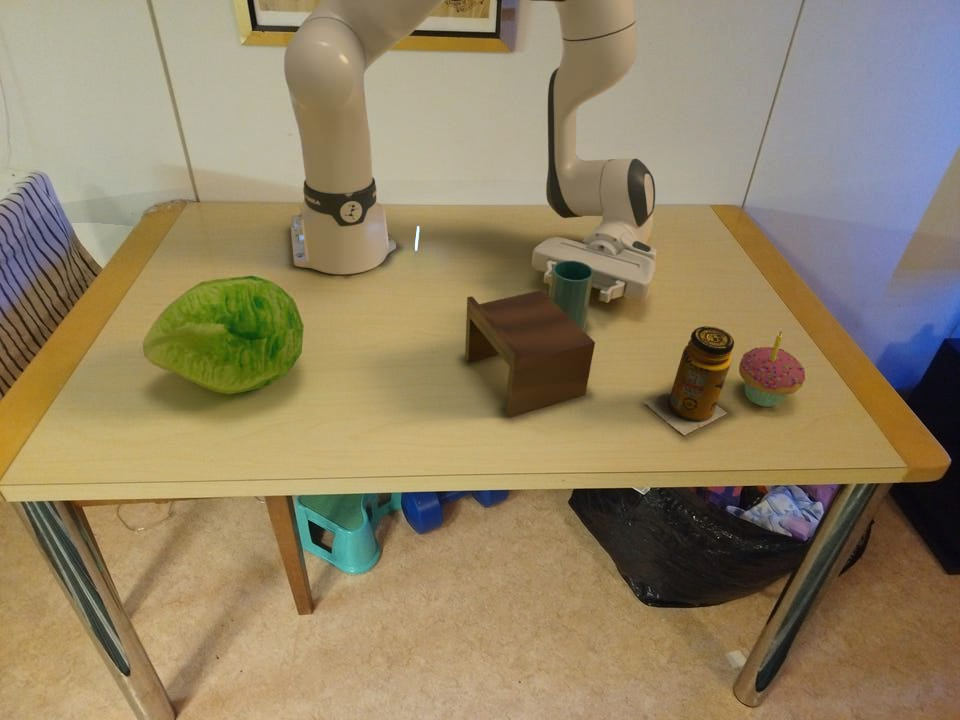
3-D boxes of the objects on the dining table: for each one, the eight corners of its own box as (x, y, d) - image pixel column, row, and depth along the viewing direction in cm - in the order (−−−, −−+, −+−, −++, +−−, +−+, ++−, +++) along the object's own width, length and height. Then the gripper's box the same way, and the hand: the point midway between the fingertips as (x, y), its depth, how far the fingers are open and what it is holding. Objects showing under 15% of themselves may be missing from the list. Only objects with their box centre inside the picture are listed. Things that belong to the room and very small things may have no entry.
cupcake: (773, 424, 88) (804, 353, 81) (718, 392, 93) (742, 322, 86) (804, 398, 93) (836, 328, 85) (750, 369, 97) (776, 300, 90)
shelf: (464, 358, 97) (467, 297, 90) (535, 339, 101) (542, 280, 95) (509, 417, 87) (515, 353, 80) (585, 394, 91) (597, 332, 85)
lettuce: (184, 361, 97) (150, 266, 89) (321, 345, 98) (300, 250, 90) (148, 429, 83) (103, 324, 75) (309, 410, 84) (282, 304, 76)
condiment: (727, 414, 89) (753, 342, 82) (683, 436, 85) (707, 363, 78) (686, 384, 94) (707, 314, 87) (644, 404, 90) (662, 333, 83)
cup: (538, 319, 106) (544, 264, 99) (571, 311, 108) (579, 257, 102) (558, 340, 101) (566, 284, 95) (592, 331, 103) (602, 276, 97)
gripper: (552, 221, 115) (517, 253, 105) (667, 252, 107) (640, 290, 97) (548, 253, 118) (514, 287, 109) (658, 286, 111) (632, 325, 101)
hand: (575, 288), depth 103 cm, fingers open, 8 cm apart
